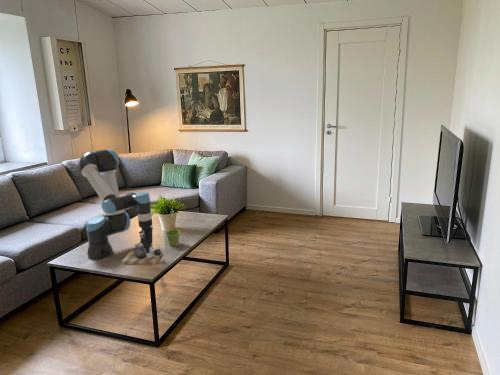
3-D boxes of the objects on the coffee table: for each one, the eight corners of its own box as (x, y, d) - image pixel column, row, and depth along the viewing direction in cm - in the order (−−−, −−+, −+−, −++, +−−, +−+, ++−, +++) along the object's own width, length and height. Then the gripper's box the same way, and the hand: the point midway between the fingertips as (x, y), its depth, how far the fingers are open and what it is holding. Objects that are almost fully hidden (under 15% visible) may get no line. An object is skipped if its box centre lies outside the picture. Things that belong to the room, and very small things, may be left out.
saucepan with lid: (133, 257, 227) (131, 246, 226) (139, 251, 235) (138, 241, 233) (157, 259, 224) (155, 248, 222) (163, 253, 231) (162, 242, 229)
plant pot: (182, 246, 247) (180, 233, 245) (167, 248, 244) (166, 235, 242) (180, 240, 256) (179, 228, 253) (166, 242, 253) (165, 230, 251)
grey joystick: (148, 227, 248) (133, 229, 246) (149, 232, 239) (132, 234, 236) (150, 244, 252) (135, 246, 249) (151, 250, 242) (135, 252, 240)
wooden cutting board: (122, 263, 225) (122, 260, 224) (131, 253, 238) (130, 250, 238) (156, 263, 223) (155, 260, 223) (162, 253, 237) (162, 250, 236)
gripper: (146, 223, 208) (151, 262, 215) (155, 215, 221) (159, 252, 227) (133, 223, 209) (138, 261, 216) (143, 215, 222) (147, 252, 228)
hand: (149, 257), depth 221 cm, fingers closed
